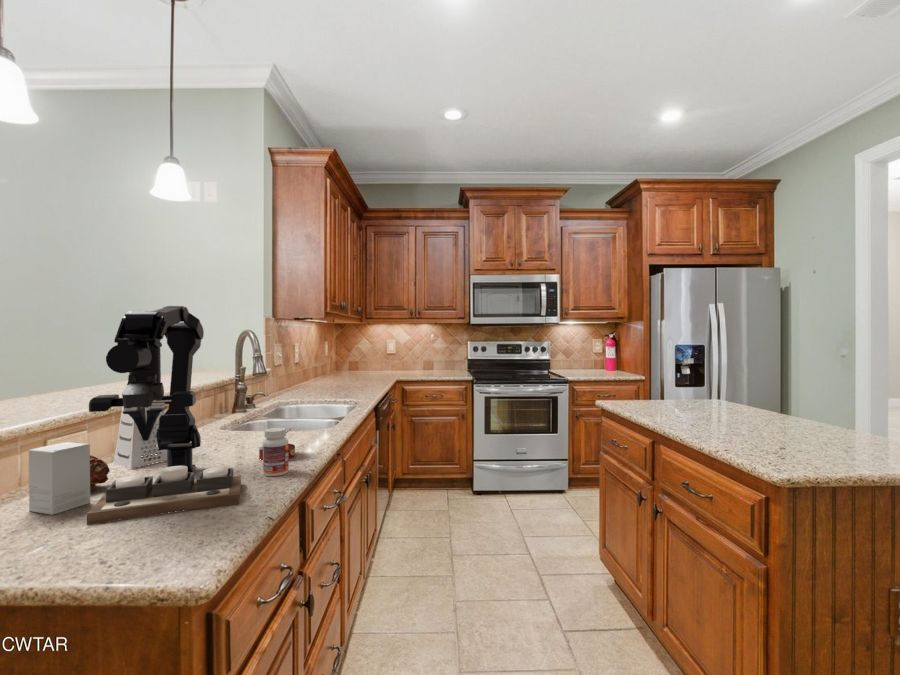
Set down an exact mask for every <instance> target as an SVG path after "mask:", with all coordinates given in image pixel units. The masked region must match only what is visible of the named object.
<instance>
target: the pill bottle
mask: <svg viewBox="0 0 900 675" xmlns="http://www.w3.org/2000/svg"><path fill="white" fill-rule="evenodd" d="M286 432H287V428H285V427H271V428H266V429H264V438H265V439H264V440H263V441H262V442H263V443H262V446H263V461H262V473H263V475H264V476H266V477H279V476H284V475H285V474H288V472H289V459H288V444H289V439H287V437H286V436H287V433H286Z"/></svg>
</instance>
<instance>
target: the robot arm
mask: <svg viewBox="0 0 900 675" xmlns="http://www.w3.org/2000/svg"><path fill="white" fill-rule="evenodd" d="M204 334H205V333H204V327H203V325H202V323H201V320H200V319H199V318H198V317H196V316H195V315H194V314H192V313H190V311H189V310H188V308H187V307H186V306H183V305H167V306H163V307H162V308H159V309H155V310H151V311H149V310H148V311H147V310H145V311H143V310H139V311H138V310H137V311H136V310H128V311H127V312H125V314H124V316H123V317H122V318H121V320H120V323H119V326H118V329H117V331H116V335H115V337H114V340H113V342H114V343H116V344H117V345H114V346H112V347H111V348H110V349H109V350H108V352H107V354H106V356H105V362H106V366H108V368H109V369H110V370H112V371H113V372H115V373H118V374H126V373H127V374H128V373H129V374H128V376H127V383H126V386H125V387H124V389H123V391H122V393H121V395H122V397H120V395H119V394H99V395H97V396H94V397H92V398H91V399H90V400H89V402H88V412H90V413H96V412H108V411H109V410H110V409H111V408H115V407H124V411H123V414H128V415H129V416H130V417H131V418H132V419H133V420H134V422H135V423H136V425H137V428H138V430H139V432H140V434H141V437H142V439H143V441H148V440H149V437H150V435H151V432H152V429H153V427H154V424H155V422H156V419H157V420H159V427H158V429H157V431H156V437H157V443H158V449H159V450H167V461H166V465H167V466H166V468H167V467H172V466H187V467H188V473H189V472H194V470H195V468H196V464H193V449H196V448H199V447H201V442H202V441H201V439H202V438H201V434H200V432H199V430H198V427H197V425H196V419H195V417H194V415H193V414H192V412H191V410H190V407H193V406H194V405H196V403H197V393H196V392H195V391H193V390H192V389H191V386H192V371H193V363H194V362H193V360H194V356H195V354H196V353H197V351H198V350H199V349H200V348H201V345H202V340H203V339H204V336H205V335H204ZM164 336H165V338H166V344H167V346H168V348H169V350H170V351H171V353H172V360H171V361H172V363H171V373H170V387H169V395H165V390H164V389H165V388H164V384H163V382H162V372H161V361H162V360H161V358H162V357H161V348H162V347H163V344H162V340H163V339H164ZM146 407H150V409H148V410H147V411H146V412H147V422H146V415H145V408H146ZM165 410H166V412H165V414H164V415H161V417H160V418H157V417H158V416H159V414H160V412H163V411H165Z"/></svg>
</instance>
